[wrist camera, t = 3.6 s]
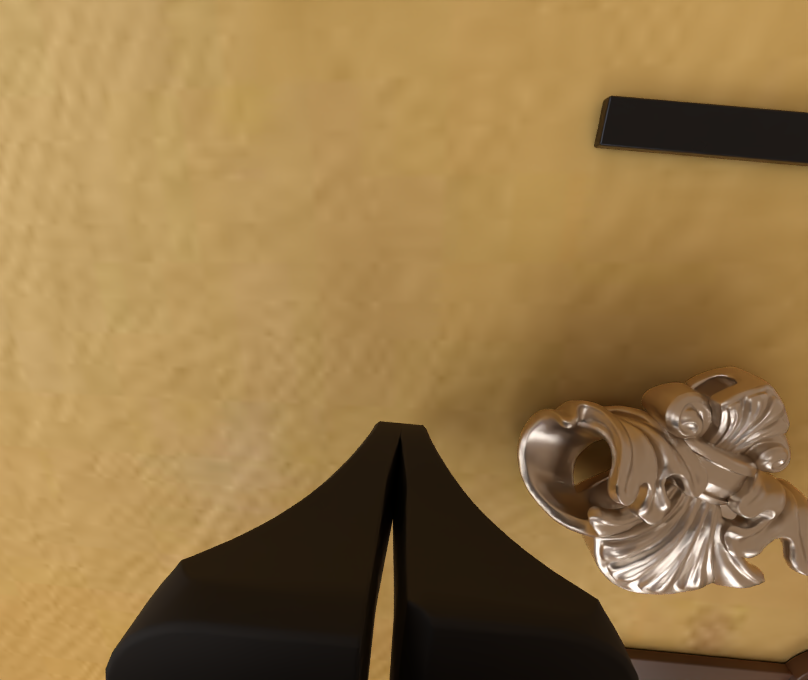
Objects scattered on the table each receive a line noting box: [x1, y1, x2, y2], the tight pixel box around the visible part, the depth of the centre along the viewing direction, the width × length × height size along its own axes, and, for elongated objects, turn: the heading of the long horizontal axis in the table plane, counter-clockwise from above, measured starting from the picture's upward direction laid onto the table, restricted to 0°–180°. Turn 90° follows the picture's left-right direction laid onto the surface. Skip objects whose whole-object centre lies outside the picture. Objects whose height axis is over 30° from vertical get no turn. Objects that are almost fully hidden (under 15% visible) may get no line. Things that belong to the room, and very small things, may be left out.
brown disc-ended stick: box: [625, 648, 808, 680], centre depth 15 cm, size 15×4×1 cm, turn 85°
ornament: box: [517, 366, 808, 594], centre depth 11 cm, size 8×7×4 cm
